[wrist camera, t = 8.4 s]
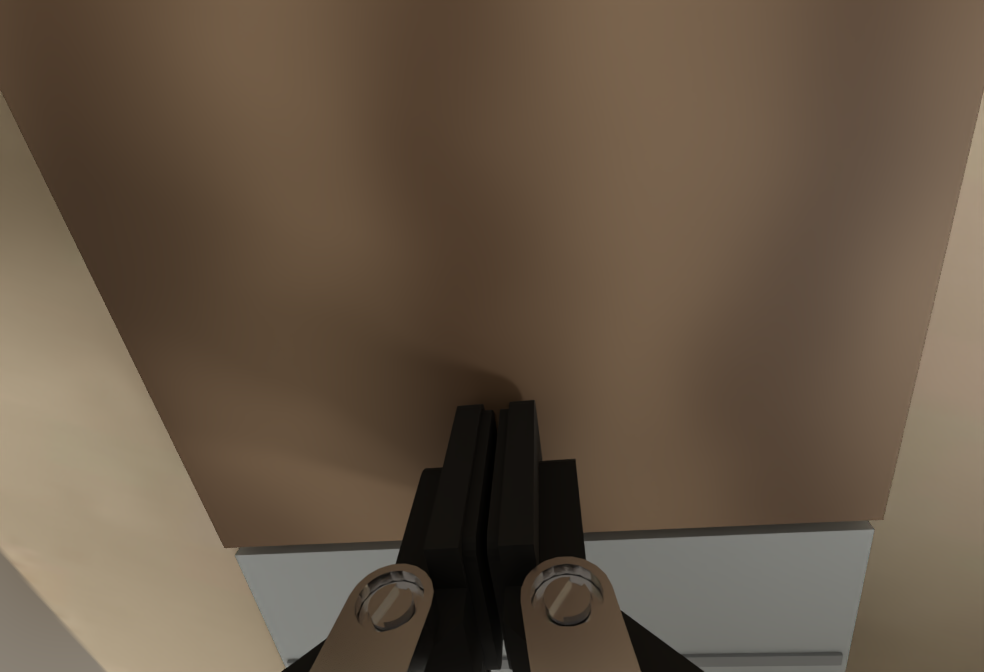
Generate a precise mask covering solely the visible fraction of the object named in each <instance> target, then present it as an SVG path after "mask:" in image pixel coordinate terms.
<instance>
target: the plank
mask: <svg viewBox="0 0 984 672" xmlns="http://www.w3.org/2000/svg"><path fill="white" fill-rule="evenodd" d="M0 90H1V92H2V94H3V96H4V98H5V100H6V102H7V104H8V106H9V108H10V110H11V112H12V114H13V116H14V118H15V120H16V122H17V124H18V126H19V129H20V131H21V133H22V135H23V137H24V139H25V141H26V143H27V145H28V147H29V149H30V151H31V153H32V155H33V157H34V159H35V161H36V163H37V165H38V167H39V169H40V171H41V174H42V176H43V178H44V180H45V182H46V184H47V186H48V188H49V190H50V192H51V194H52V196H53V198H54V200H55V202H56V204H57V206H58V208H59V210H60V212H61V214H62V217H63V219H64V221H65V223H66V225H67V227H68V229H69V231H70V233H71V235H72V237H73V239H74V241H75V243H76V245H77V247H78V249H79V251H80V253H81V255H82V257H83V259H84V262H85V264H86V266H87V268H88V270H89V272H90V274H91V276H92V278H93V280H94V282H95V284H96V286H97V288H98V290H99V292H100V294H101V296H102V298H103V300H104V302H105V305H106V307H107V309H108V311H109V313H110V315H111V317H112V319H113V321H114V323H115V325H116V327H117V329H118V331H119V333H120V335H121V337H122V339H123V341H124V343H125V345H126V347H127V350H128V352H129V354H130V356H131V358H132V360H133V362H134V364H135V366H136V368H137V370H138V372H139V374H140V376H141V378H142V380H143V382H144V384H145V386H146V388H147V390H148V393H149V395H150V397H151V399H152V401H153V403H154V405H155V407H156V409H157V411H158V413H159V415H160V417H161V419H162V421H163V423H164V425H165V427H166V429H167V431H168V433H169V435H170V438H171V440H172V442H173V444H174V446H175V448H176V450H177V452H178V454H179V456H180V458H181V460H182V462H183V464H184V466H185V468H186V470H187V472H188V474H189V476H190V478H191V481H192V483H193V485H194V487H195V489H196V491H197V493H198V495H199V497H200V499H201V501H202V503H203V505H204V507H205V509H206V511H207V513H208V515H209V517H210V519H211V521H212V523H213V526H214V528H215V530H216V532H217V534H218V536H219V538H220V540H221V542H222V544H223V546H224V548H236V547H259V546H283V545H306V544H329V543H352V542H376V541H399V540H402V539H403V536H404V532H405V529H406V525H407V522H408V518H409V515H410V511H411V508H412V504H413V501H414V497H415V494H416V490H417V487H418V483H419V480H420V476H421V474H422V471H423V470H424V469H425V468H439V467H443V464H444V459H445V455H446V451H447V447H448V442H449V438H450V434H451V430H452V426H453V421H454V417H455V413H456V409H457V406H462V405H475V404H483V405H484V408H485V410H493V411H494V415H495V421H496V428H497V433H498V424H499V414H500V409H509V402H513V401H526V400H535V404H536V411H537V419H538V427H539V436H540V444H541V452H542V460H543V461H547V460H562V459H576V468H577V478H578V487H579V497H580V506H581V516H582V525H583V533H586V532H609V531H632V530H656V529H679V528H702V527H725V526H749V525H772V524H795V523H819V522H842V521H865V520H883V518H884V514H885V510H886V505H887V501H888V497H889V493H890V488H891V484H892V480H893V475H894V471H895V467H896V463H897V458H898V454H899V450H900V446H901V441H902V437H903V433H904V428H905V424H906V420H907V416H908V411H909V407H910V403H911V398H912V394H913V390H914V386H915V381H916V377H917V373H918V369H919V364H920V360H921V356H922V351H923V347H924V343H925V339H926V334H927V330H928V326H929V322H930V317H931V313H932V309H933V304H934V300H935V296H936V292H937V287H938V283H939V279H940V275H941V270H942V266H943V262H944V257H945V253H946V249H947V245H948V240H949V236H950V232H951V227H952V223H953V219H954V215H955V210H956V206H957V202H958V198H959V193H960V189H961V185H962V180H963V176H964V172H965V168H966V163H967V159H968V155H969V151H970V146H971V142H972V138H973V133H974V129H975V125H976V121H977V116H978V112H979V108H980V104H981V99H982V95H983V91H984V0H0Z"/></svg>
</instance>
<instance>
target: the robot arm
mask: <svg viewBox="0 0 984 672" xmlns="http://www.w3.org/2000/svg"><path fill="white" fill-rule="evenodd" d="M503 640H504V645H505V650H506V655H507V660H508V665H509V669H510V670H512V671H513V672H704V671H703V670H702V669H700V668H699V667H698V666H696V665H695V664H693V663H692V662H691V661H689V660H688V659H687V658H685V657H684V656H683V655H681V654H680V653H678V652H677V651H676V650H674V649H673V648H672V647H670V646H669V645H668V644H666V643H665V642H664V641H662V640H661V639H659V638H658V637H657V636H655V635H654V634H653V633H651V632H650V631H649V630H647V629H646V628H644V627H643V626H642V625H640V624H639V623H638V622H636V621H635V620H634V619H632V618H631V617H630V616H628V615H627V614H625V613H624V612H623V611H621V610H620V607H619V604H618V601H617V598H616V595H615V592H614V589H613V586H612V584H611V582H610V580H609V579H608V577H607V575H606V574H605V573H604V572H603V571H602V570H601V569H600V568H599V567H598V566H597V565H595V564H593V563H591V562H589V561H587V560H586V554H585V545H584V535H583V525H582V516H581V506H580V497H579V487H578V478H577V468H576V459H562V460H547V461H543V460H542V452H541V444H540V436H539V427H538V419H537V411H536V404H535V400H526V401H513V402H509V409H500V414H499V424H498V433H497V428H496V421H495V415H494V411H493V410H485V408H484V405H483V404H475V405H462V406H457V409H456V413H455V417H454V421H453V426H452V430H451V434H450V438H449V442H448V447H447V451H446V455H445V459H444V464H443V467H439V468H425V469H424V470H423V471H422V474H421V476H420V480H419V483H418V487H417V490H416V494H415V497H414V501H413V504H412V508H411V511H410V515H409V518H408V522H407V525H406V529H405V532H404V536H403V539H402V543H401V546H400V550H399V553H398V557H397V560H396V564H392V565H388V566H385V567H382V568H379V569H377V570H375V571H374V572H372V573H370V574H368V575H367V576H366V577H365V578H363V579H362V580H361V581H360V582H359V583H358V584H357V585H356V586H355V588H354V589H353V591H352V592H351V593H350V595H349V597H348V599H347V601H346V602H345V604H344V606H343V608H342V610H341V612H340V614H339V616H338V618H337V620H336V622H335V624H334V625H333V627H332V629H331V631H330V633H329V635H328V637H327V638H326V639H325V640H324V641H322V642H321V643H320V644H318V645H317V646H315V647H314V648H313V649H311V650H310V651H309V652H307V653H306V654H305V655H303V656H302V657H301V658H299V659H298V660H296V661H295V662H294V663H292V664H291V665H290V666H288V667H287V668H286V669H284V670H283V671H282V672H491V670H500V669H501V666H502V653H503Z"/></svg>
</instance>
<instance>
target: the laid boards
mask: <svg viewBox="0 0 984 672" xmlns="http://www.w3.org/2000/svg"><path fill="white" fill-rule="evenodd" d="M873 534H874V528H873V527H872V525H871V524H870V523H869V521H868V520H865V521H842V522H819V523H795V524H772V525H749V526H725V527H702V528H679V529H656V530H632V531H609V532H586V533H583V535H584V545H585V554H586V560H587V561H589V562H591V563H593V564H595V565H597V566H598V567H599V568H600V569H601V570H602V571H603V572H604V573H605V574H606V575H607V577H608V579H609V580H610V582H611V584H612V586H613V589H614V592H615V595H616V598H617V601H618V604H619V607H620V610H621V611H623V612H624V613H625V614H627V615H628V616H630V617H631V618H632V619H634V620H635V621H636V622H638V623H639V624H640V625H642V626H643V627H644V628H646V629H647V630H649V631H650V632H651V633H653V634H654V635H655V636H657V637H658V638H659V639H661V640H662V641H664V642H665V643H666V644H668V645H669V646H670V647H672V648H673V649H674V650H676V651H677V652H678V653H680V654H681V655H683V656H684V657H685V658H687V659H688V660H689V661H691V662H692V663H693V664H695V665H696V666H698V667H699V668H700V669H702V670H703V671H704V672H845V671H846V666H847V661H848V656H849V651H850V647H851V642H852V637H853V632H854V627H855V622H856V617H857V612H858V608H859V603H860V598H861V593H862V588H863V583H864V578H865V573H866V568H867V564H868V559H869V554H870V549H871V544H872V539H873ZM401 543H402V540H399V541H376V542H352V543H329V544H306V545H283V546H259V547H240V548H239V550H238V551H237V553H236V555H235V557H236V559H237V561H238V564H239V566H240V568H241V570H242V572H243V575H244V577H245V579H246V581H247V583H248V586H249V588H250V590H251V592H252V594H253V597H254V599H255V601H256V603H257V605H258V608H259V610H260V612H261V614H262V617H263V619H264V621H265V623H266V625H267V628H268V630H269V632H270V634H271V636H272V639H273V641H274V643H275V645H276V647H277V650H278V652H279V654H280V656H281V658H282V661H283V663H284V665H285V667H286V668H287V667H288V666H290V665H291V664H292V663H294V662H295V661H296V660H298V659H299V658H301V657H302V656H303V655H305V654H306V653H307V652H309V651H310V650H311V649H313V648H314V647H315V646H317V645H318V644H320V643H321V642H322V641H324V640H325V639H326V638H327V637H328V635H329V633H330V631H331V629H332V627H333V625H334V624H335V622H336V620H337V618H338V616H339V614H340V612H341V610H342V608H343V606H344V604H345V602H346V601H347V599H348V597H349V595H350V593H351V592H352V591H353V589H354V588H355V586H356V585H357V584H358V583H359V582H360V581H361V580H362V579H363V578H365V577H366V576H367V575H368V574H370V573H372V572H374V571H375V570H377V569H379V568H382V567H385V566H388V565H392V564H396V560H397V557H398V553H399V550H400V546H401ZM491 672H513V671H512V670H510V669H509V665H508V660H507V655H506V650H505V645H504V640H503V653H502V666H501V669H500V670H491Z"/></svg>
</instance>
